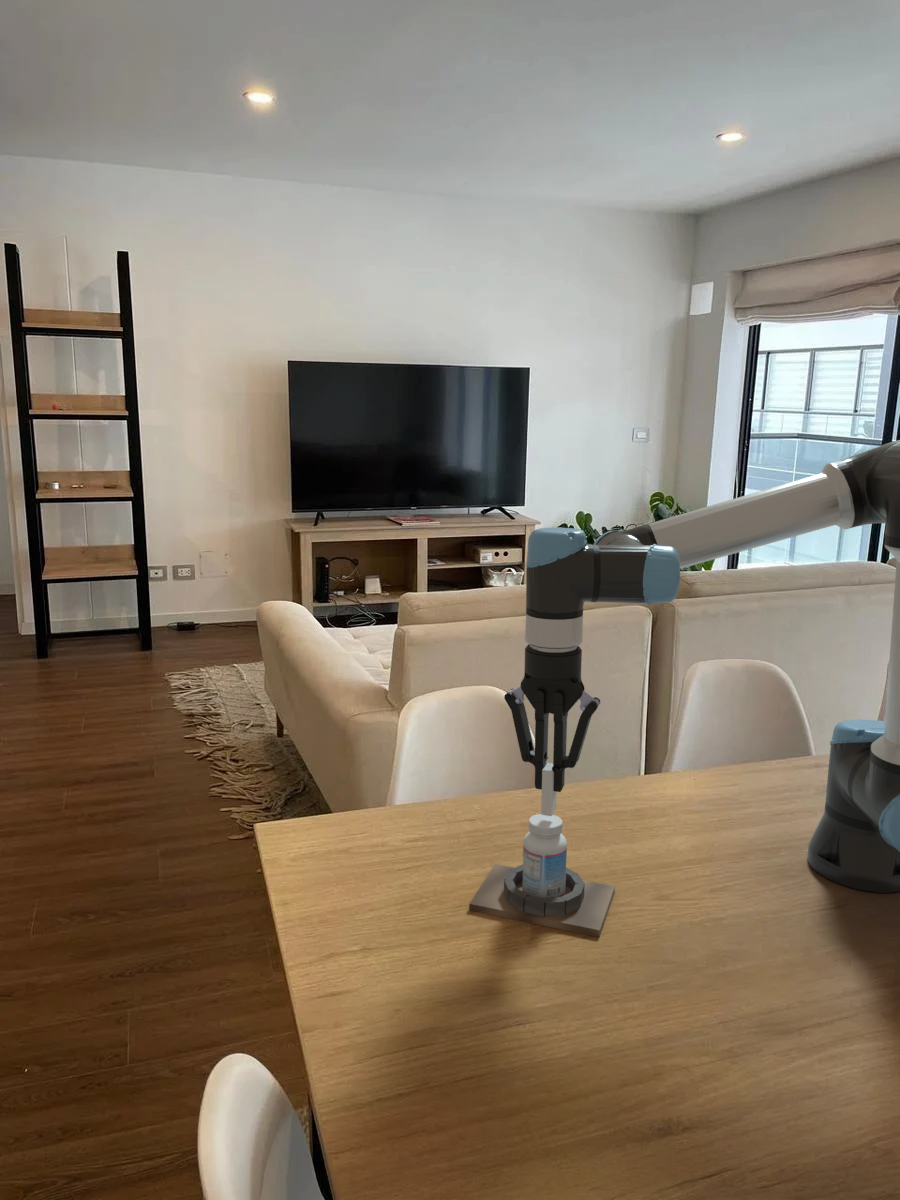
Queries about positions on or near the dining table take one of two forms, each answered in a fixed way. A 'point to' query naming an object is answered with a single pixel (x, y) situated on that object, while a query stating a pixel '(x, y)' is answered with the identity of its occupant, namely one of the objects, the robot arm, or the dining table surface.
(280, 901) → the dining table surface
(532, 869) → the pill bottle
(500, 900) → the holder
